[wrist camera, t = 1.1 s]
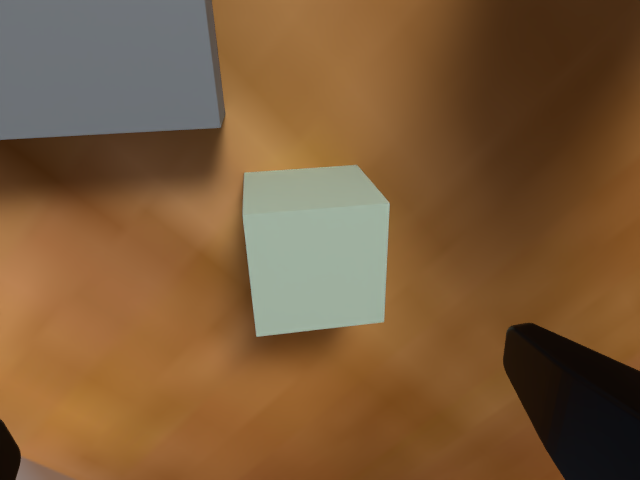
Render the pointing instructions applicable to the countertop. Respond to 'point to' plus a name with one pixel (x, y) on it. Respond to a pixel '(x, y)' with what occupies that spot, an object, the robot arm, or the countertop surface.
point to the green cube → (315, 248)
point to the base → (107, 67)
